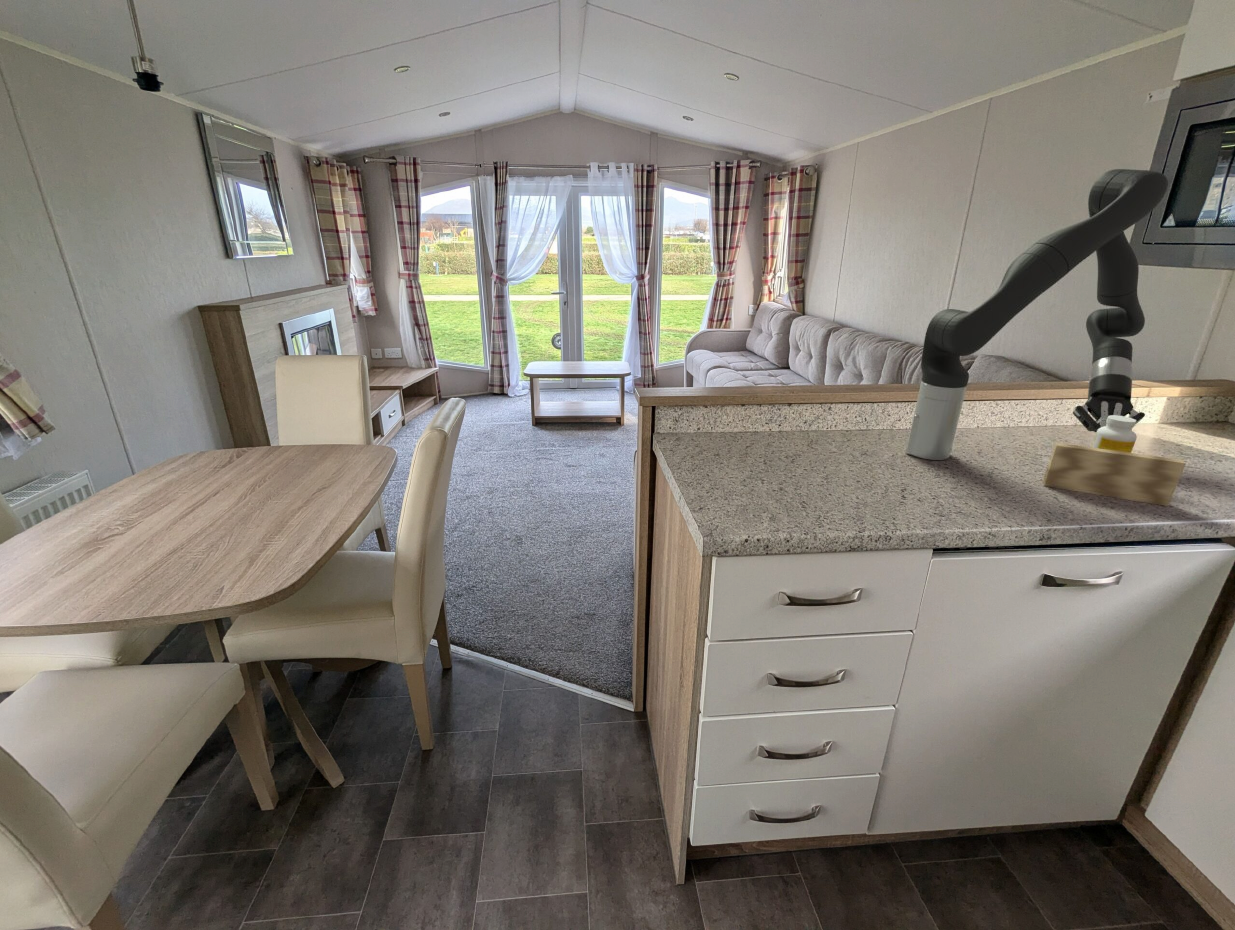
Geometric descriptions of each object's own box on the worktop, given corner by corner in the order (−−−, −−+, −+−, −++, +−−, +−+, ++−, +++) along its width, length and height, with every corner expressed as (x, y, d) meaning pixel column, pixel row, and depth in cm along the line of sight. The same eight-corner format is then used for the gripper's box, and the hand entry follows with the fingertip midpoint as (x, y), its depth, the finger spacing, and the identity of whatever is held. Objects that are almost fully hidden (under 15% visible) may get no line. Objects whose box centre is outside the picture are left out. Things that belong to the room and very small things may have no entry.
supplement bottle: (1128, 481, 121) (1150, 424, 116) (1092, 479, 123) (1113, 422, 118) (1111, 469, 127) (1131, 414, 122) (1077, 467, 129) (1095, 412, 124)
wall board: (1043, 485, 119) (1056, 445, 116) (1039, 474, 125) (1052, 436, 121) (1168, 506, 111) (1186, 463, 107) (1158, 493, 116) (1174, 452, 112)
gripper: (1080, 369, 131) (1074, 436, 126) (1154, 375, 125) (1151, 445, 120) (1069, 386, 137) (1063, 450, 132) (1139, 393, 132) (1135, 460, 127)
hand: (1105, 448), depth 126 cm, fingers closed
